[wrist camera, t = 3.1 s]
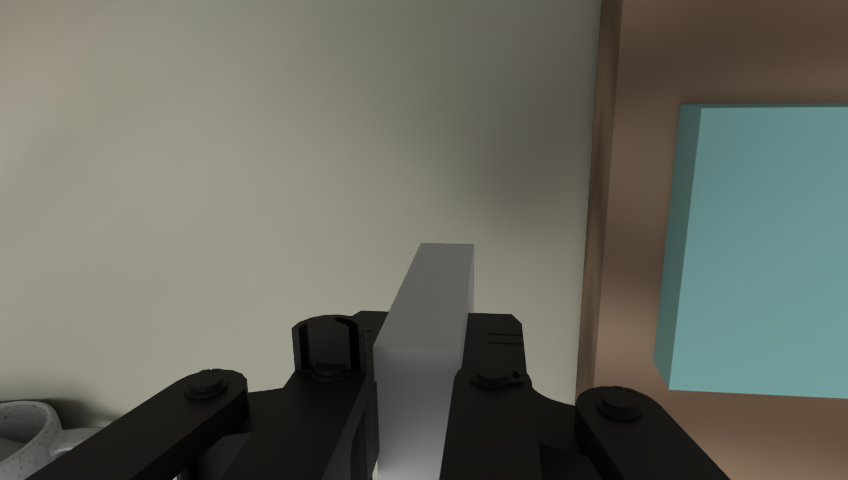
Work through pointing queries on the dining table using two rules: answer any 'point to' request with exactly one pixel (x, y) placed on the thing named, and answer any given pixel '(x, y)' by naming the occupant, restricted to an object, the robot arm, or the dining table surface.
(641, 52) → the board
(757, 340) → the card
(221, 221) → the dining table surface
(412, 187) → the dining table surface
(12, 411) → the ceramic mug
